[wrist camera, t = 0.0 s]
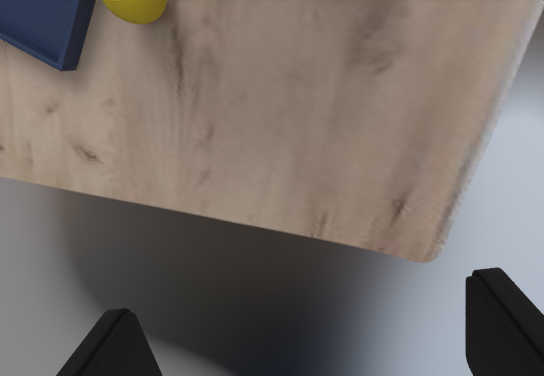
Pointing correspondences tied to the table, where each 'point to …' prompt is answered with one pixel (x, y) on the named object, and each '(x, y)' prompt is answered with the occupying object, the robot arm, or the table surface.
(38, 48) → the tray
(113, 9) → the lemon
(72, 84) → the table surface
